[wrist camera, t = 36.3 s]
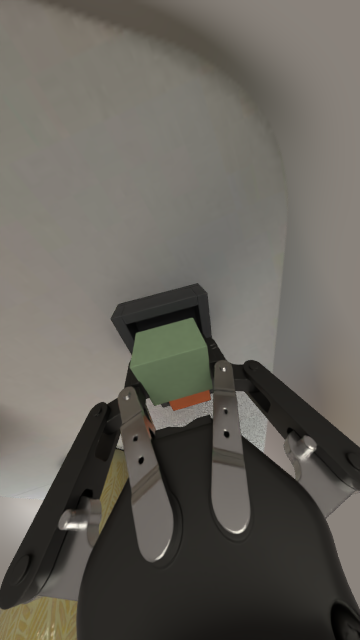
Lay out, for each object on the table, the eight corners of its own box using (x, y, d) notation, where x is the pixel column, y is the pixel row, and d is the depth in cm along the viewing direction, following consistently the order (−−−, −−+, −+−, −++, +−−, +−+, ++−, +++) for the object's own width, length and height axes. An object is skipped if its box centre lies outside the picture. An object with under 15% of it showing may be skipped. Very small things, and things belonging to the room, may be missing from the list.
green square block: (192, 317, 13) (207, 345, 9) (200, 356, 16) (213, 389, 12) (135, 332, 12) (129, 367, 9) (154, 369, 15) (154, 406, 12)
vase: (103, 437, 29) (-73, 1144, 6) (147, 453, 38) (139, 767, 16) (41, 465, 31) (-272, 1099, 8) (97, 474, 40) (25, 783, 17)
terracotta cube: (197, 352, 19) (207, 377, 16) (202, 375, 22) (211, 400, 19) (160, 363, 19) (162, 390, 16) (170, 384, 22) (173, 411, 19)
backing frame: (197, 283, 15) (207, 292, 12) (210, 375, 24) (217, 391, 21) (117, 304, 14) (109, 318, 12) (161, 389, 24) (162, 407, 21)
